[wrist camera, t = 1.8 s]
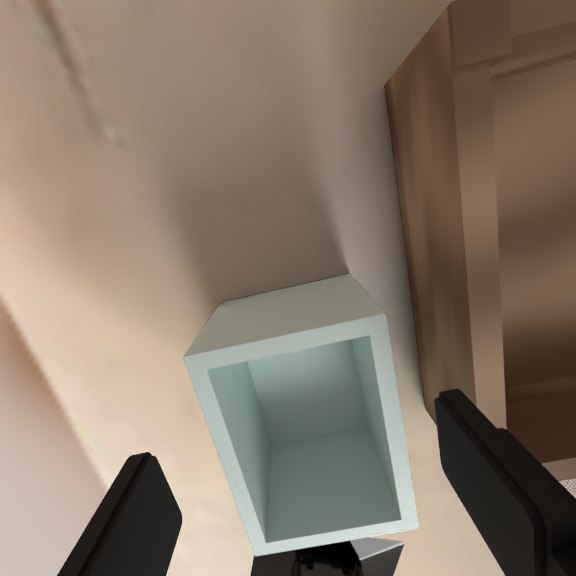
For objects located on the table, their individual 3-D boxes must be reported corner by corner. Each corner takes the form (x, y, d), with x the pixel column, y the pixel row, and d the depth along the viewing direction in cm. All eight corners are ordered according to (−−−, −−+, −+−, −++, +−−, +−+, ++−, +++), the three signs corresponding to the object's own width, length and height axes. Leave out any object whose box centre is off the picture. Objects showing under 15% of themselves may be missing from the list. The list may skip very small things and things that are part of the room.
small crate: (377, 426, 17) (419, 529, 11) (265, 447, 17) (255, 556, 12) (349, 273, 14) (386, 313, 9) (220, 302, 15) (182, 356, 9)
